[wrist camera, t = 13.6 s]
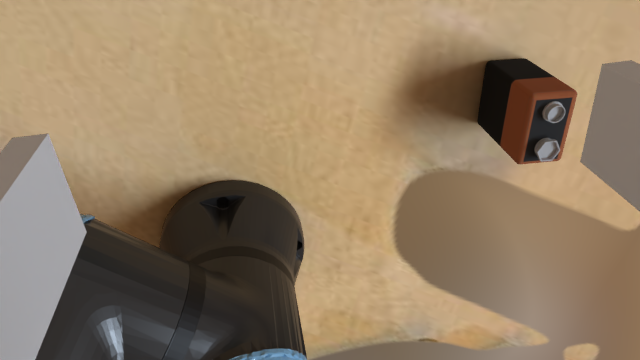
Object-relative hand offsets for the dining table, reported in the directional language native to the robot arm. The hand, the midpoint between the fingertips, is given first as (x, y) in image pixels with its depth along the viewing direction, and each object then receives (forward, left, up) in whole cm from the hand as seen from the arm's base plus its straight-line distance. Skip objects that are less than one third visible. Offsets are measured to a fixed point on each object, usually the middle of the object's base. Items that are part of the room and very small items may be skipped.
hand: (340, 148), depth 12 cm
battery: (+5, -26, -35) cm, 44 cm away
